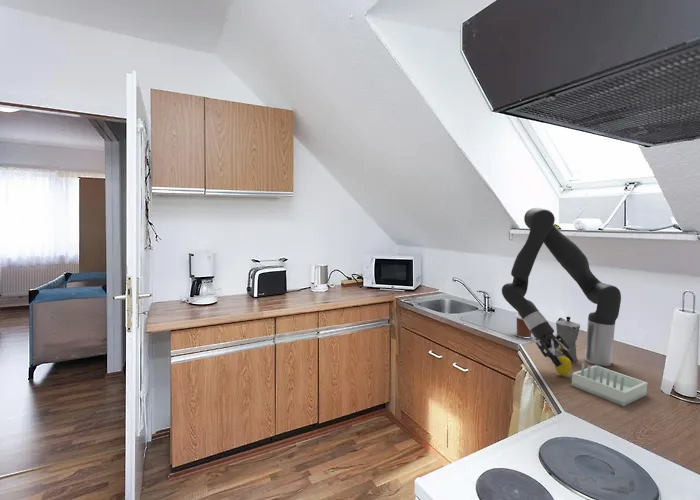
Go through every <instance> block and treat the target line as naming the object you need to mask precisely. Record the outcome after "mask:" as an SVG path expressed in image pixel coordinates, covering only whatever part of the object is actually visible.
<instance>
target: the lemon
mask: <svg viewBox="0 0 700 500" xmlns="http://www.w3.org/2000/svg"><path fill="white" fill-rule="evenodd" d="M558 359H559V360H560V362H561V363H562V365H560V366H558V367H556V366H555V365H554V369H555V371H556V372H557V373H558V374H559V375H560V376H561V377H564V376H567V375H569V374H570V373H572V368H573V365H572V362H571V361H570V359H569V358H567V357H566V356H564V355H563V356H559V357H558Z"/></svg>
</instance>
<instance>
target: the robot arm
mask: <svg viewBox="0 0 700 500" xmlns="http://www.w3.org/2000/svg"><path fill="white" fill-rule="evenodd" d="M523 218H524V219H523V221H524V223H525V225H526V227H527V228H529V234H528V237H527V239H526V241H525V242H524V245H523V246H522V248H521V249H520V251H519V252H518V253H517V255H516V258H515V260H514V262H513V265H512V267H511V268H512V269H511V274H510V275H511V276H512V278H513V280H512V282H510V283H509V282H508V283H504V284H503V286H502V288H501V295H502V297H503V299H505V301H506V302H508V304H509V305H510V306H511V307H512V308H513V309H514V310H516V312H517V314H518V313H519V315H520V316H521V317H522V319H523V320H524V322H525V324H526V326H527V327H528V329H529V330H530V331H531V335H532V336H533V337H534V339H535V340H536V341H537V342H535V344H536V346H537V347H538V349H539V350H540V352H541V354H542V355H543V357H545V358H549V359H550V360H551V362H552V363H553V365H554V367H555V366H556V367H558V366H560V365H562V363H561V362H560V360H559V359H558V358H557V356H556V355H555V353H554V350H557V351H560V352H561V353H562V354H563V355H564V356H566V357H567V358H569V359H570V361H571V363H572V362H575V361H574V359H573V358H572V356H571V355H570V354H569V352H568V349H569V346H568V345H567V344H566V342H565V341H564V340H563V339H562V337H561V336H560V335H558V336H557V335H556V336H555V335H554V333H555V329H554V328H553V327H552V325H551V324H550V323H549V321H548V320H547V318H546V317H545V316H544V315H543V314H542V313H541V312H540V310H539V309H538V307H536V305H535V304H534V303H533V301H531V300H529V299H527V298H526V296H525V295H526V294H527V292H528V287H529V277H530V275H531V272H532V270H533V267H534V264H535V261H536V259H537V257H538V254H539V252H540V251H541V248H542V246H543V244H544V245H545V246H546V248H547V249H548V250H549V252H550V253H551V254H552V256H553V257H554V258H555V260H556V261H557V262H558V263H559V265H561V267H562V268H563V269H564V270H565V271H566V272H567V274H569V275H570V277H571V278H572V279H573V280H574V281H575V283H577V285H578V286H579V288H580V289H581V291H582V293H583V294H584V296H585V297H586V298H587V300H589V301H590V303H593V304H595V305H596V309H595V311H593V312H590V313H589V314H588V317H587V328H586V340H585V348H584V349H585V351H584V361H586V362H588V363H589V364H592V365H594V366H595V365H597V366H600V367H610V366H611V365H612V358H613V351H614V350H613V348H614V339H615V338H614V337H615V329H616V328H615V327H616V320H617V319H618V318H619V315H620V309H621V302H622V293H621V291H620V289H619V288H618V287H617V286H615V285H612V284H608V283H605V282H602V281H600V280H599V279H598V278H597V277H596V276H595V275H594V274H593V273H592V270H591V268H590V264H589V261H588V260H589V259H588V258H587V256H586V255H585V254H584V252H583V251H582V250H581V249H580V248H579V246H578V245H577V244H576V243H574V242H573V241H572V240H571V239H570V238H569V237H567V236H566V235H565V234H563V233H562V232H561V231H560V230H559V229H558V228H557V227H556V226H555V221H556V219H555V215H554V213H553V212H552V211H550V210H548V209H545V208H542V207H533V208H529V209H528V210H527V211H526V212H525V214H524V217H523ZM563 344H564V345H565V347H564V346H563ZM561 349H562V350H561Z"/></svg>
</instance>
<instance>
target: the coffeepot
mask: <svg viewBox="0 0 700 500" xmlns="http://www.w3.org/2000/svg"><path fill="white" fill-rule="evenodd" d="M555 327H556V336H558V335H560V336H561V337H562V339H563V340H564V341H565V342H566V344H567V345H568V346H569V349H568V352H569V354H570V355H571V356H572V358H573V359H574V361H573V362H576V361H578V356H577V345H576V342H577V340H578V338H579V337H578V335H579V333H580V329H581V323H577V322H574V321H571V316H566V319H564V318H562V317H559V318H558V320H556V321H555ZM563 346H564V347H565V345H564V344H563ZM561 350H562V349H561ZM554 353H555V355H556V356H557V358H558V357H559V356H563V354H562V353H561V352H560V351H557V350H554Z"/></svg>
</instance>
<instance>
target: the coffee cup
mask: <svg viewBox="0 0 700 500" xmlns="http://www.w3.org/2000/svg"><path fill="white" fill-rule="evenodd" d="M514 316H515V317H514V318H516V337H518V336H519V337H518V338H521V337H531V338H532V333H531V331H530V330H529V329H528V327H527V326H526V324H525V322H524V320H523V319H522V317H521V316H520V315H519V313H518V312H517V313H516V314H514Z"/></svg>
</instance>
